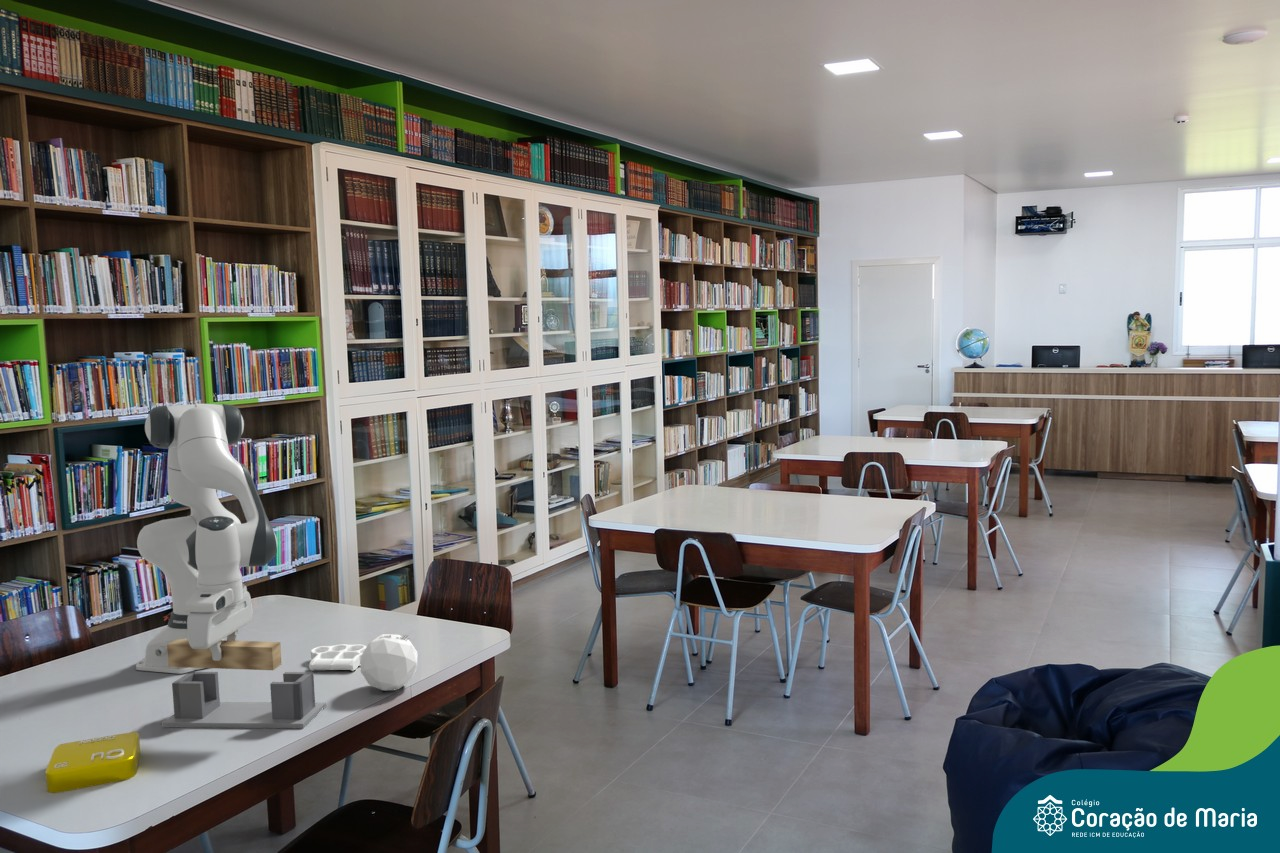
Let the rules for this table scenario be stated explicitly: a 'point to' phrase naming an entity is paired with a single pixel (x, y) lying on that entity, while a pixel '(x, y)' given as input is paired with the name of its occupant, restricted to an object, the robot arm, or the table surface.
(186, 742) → the table surface
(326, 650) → the knuckle duster
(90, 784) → the element tile
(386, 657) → the geodesic sphere
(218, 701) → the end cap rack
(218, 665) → the oak slat
